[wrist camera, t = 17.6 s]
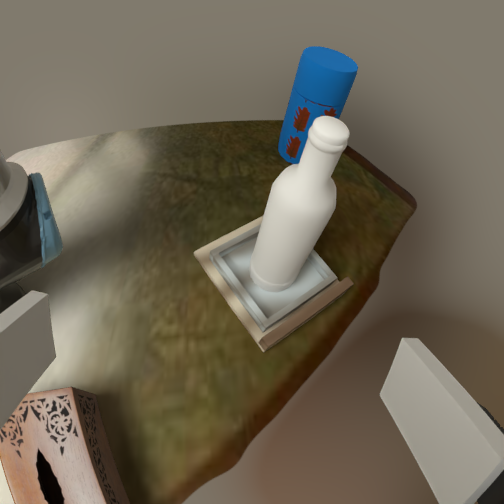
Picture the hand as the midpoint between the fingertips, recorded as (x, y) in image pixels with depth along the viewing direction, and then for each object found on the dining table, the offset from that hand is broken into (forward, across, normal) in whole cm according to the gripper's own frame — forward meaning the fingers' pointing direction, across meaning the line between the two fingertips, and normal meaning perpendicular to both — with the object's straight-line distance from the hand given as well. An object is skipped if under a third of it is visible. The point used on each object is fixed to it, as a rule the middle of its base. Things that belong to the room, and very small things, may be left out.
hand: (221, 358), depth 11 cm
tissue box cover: (+16, -19, -38) cm, 46 cm away
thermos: (+66, +14, +12) cm, 68 cm away
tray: (+43, +8, -11) cm, 45 cm away
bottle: (+42, +8, -10) cm, 43 cm away
